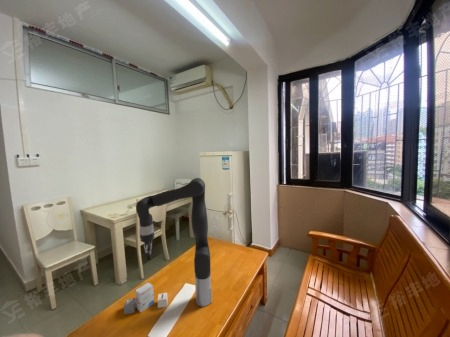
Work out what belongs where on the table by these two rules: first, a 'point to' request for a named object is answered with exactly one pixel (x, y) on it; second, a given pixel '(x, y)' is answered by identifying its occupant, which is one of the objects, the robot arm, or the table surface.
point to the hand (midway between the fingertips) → (149, 259)
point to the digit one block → (162, 300)
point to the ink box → (144, 297)
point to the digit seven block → (130, 306)
